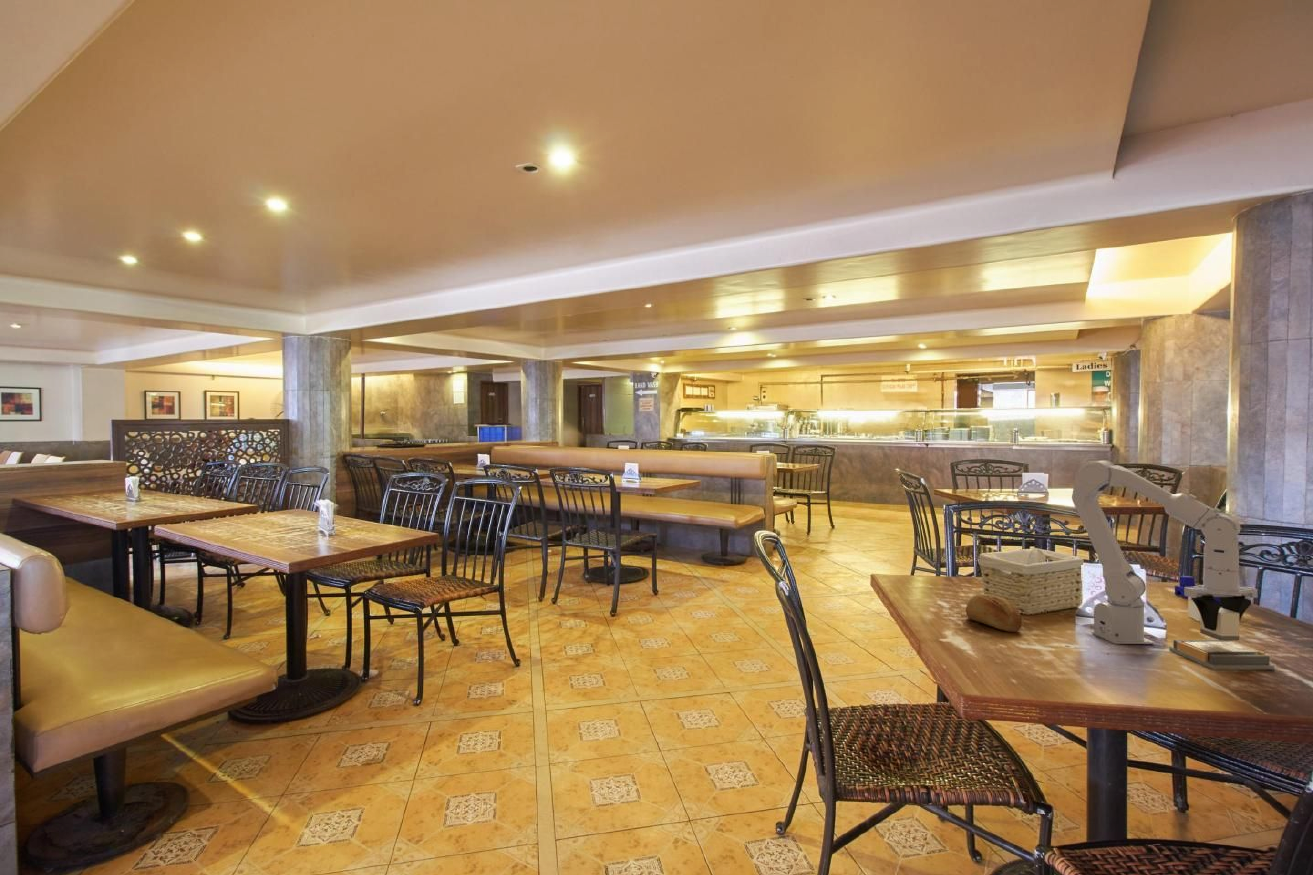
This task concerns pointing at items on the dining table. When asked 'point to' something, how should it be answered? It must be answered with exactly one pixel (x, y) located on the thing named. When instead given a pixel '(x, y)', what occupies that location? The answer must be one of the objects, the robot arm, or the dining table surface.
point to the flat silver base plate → (1222, 648)
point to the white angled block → (1193, 610)
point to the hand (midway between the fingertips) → (1220, 629)
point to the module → (1224, 626)
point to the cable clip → (1187, 582)
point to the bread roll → (994, 612)
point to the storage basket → (1033, 579)
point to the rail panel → (1222, 657)
